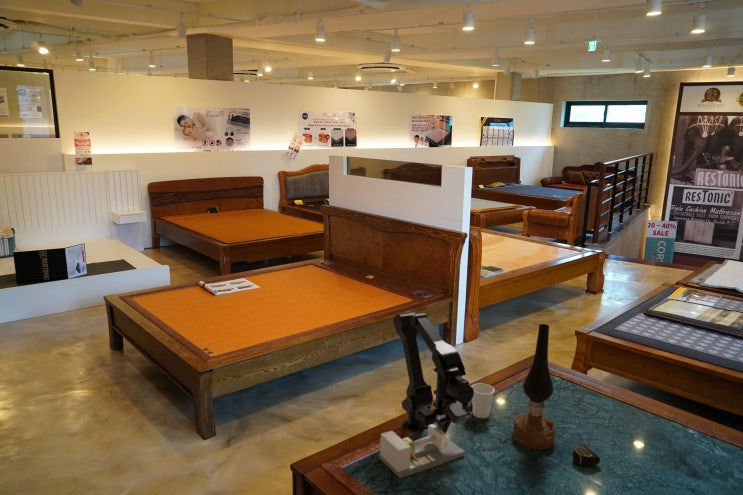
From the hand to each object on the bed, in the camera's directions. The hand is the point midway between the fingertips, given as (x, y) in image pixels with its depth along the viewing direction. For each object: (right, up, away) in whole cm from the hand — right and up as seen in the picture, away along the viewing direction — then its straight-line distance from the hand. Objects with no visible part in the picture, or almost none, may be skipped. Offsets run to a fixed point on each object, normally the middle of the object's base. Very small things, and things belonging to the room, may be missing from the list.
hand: (443, 435), depth 173 cm
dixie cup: (+17, -1, +23) cm, 29 cm away
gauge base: (-7, -6, -3) cm, 10 cm away
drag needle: (-11, -4, -7) cm, 13 cm away
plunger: (-5, -3, -3) cm, 7 cm away
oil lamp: (+31, -4, +9) cm, 33 cm away
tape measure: (+43, -7, -3) cm, 44 cm away
